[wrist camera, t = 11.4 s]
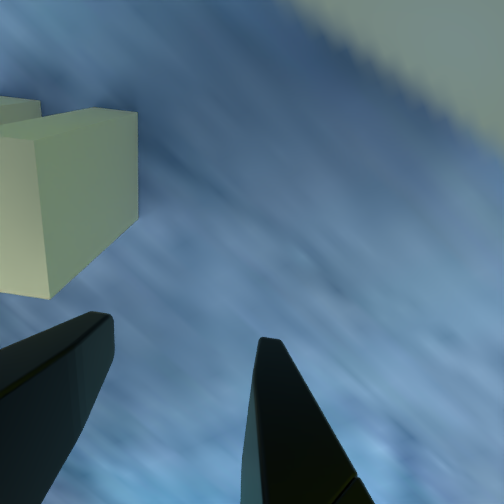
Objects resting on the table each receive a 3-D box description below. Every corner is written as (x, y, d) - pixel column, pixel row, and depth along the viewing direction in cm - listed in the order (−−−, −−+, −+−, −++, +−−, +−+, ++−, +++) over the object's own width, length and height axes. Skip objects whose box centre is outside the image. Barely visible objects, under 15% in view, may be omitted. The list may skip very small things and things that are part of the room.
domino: (137, 112, 19) (33, 140, 12) (138, 218, 21) (50, 299, 14) (93, 107, 19) (-36, 131, 12) (98, 213, 21) (-10, 290, 14)
